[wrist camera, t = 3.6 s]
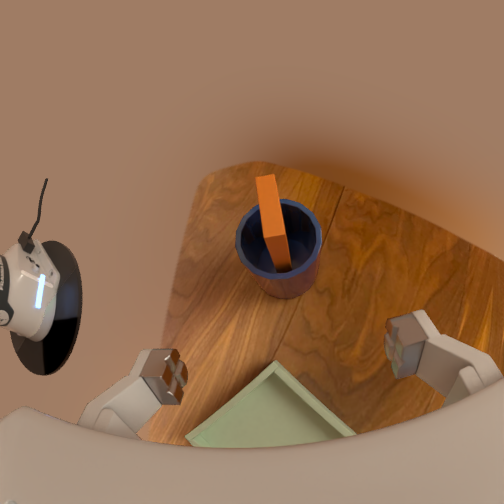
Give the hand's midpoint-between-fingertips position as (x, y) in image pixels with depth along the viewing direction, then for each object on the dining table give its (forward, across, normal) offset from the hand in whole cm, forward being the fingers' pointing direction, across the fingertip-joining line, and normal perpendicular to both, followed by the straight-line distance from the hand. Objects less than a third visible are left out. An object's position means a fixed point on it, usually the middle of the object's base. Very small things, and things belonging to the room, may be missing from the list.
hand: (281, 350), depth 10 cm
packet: (+20, 0, +7) cm, 22 cm away
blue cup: (+21, 0, +8) cm, 22 cm away
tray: (+5, +2, +23) cm, 24 cm away
